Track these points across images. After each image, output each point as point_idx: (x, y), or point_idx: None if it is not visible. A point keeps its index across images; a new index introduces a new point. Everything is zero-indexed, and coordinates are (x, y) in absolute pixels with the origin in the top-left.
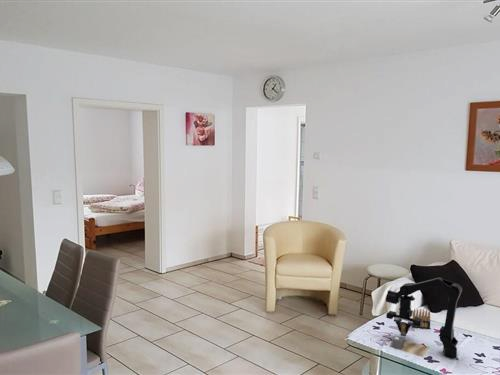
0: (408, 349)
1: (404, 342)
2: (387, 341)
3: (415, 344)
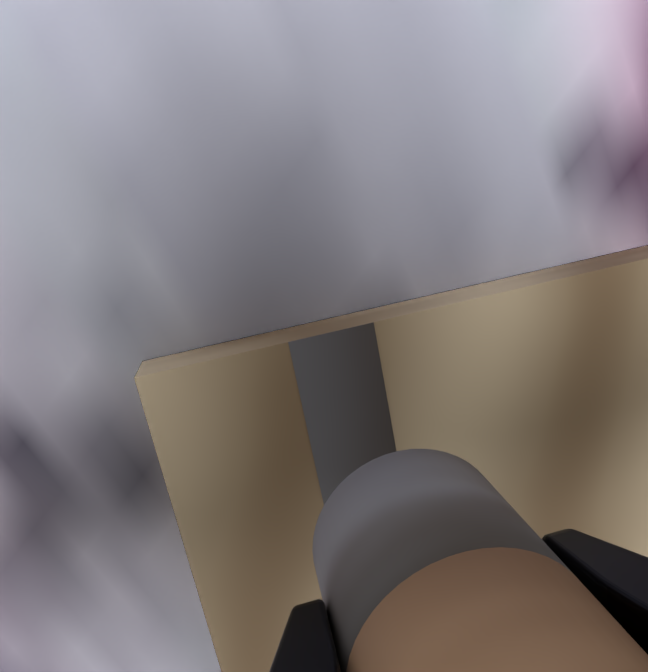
0: None
1: None
2: (60, 622)
3: (634, 331)
